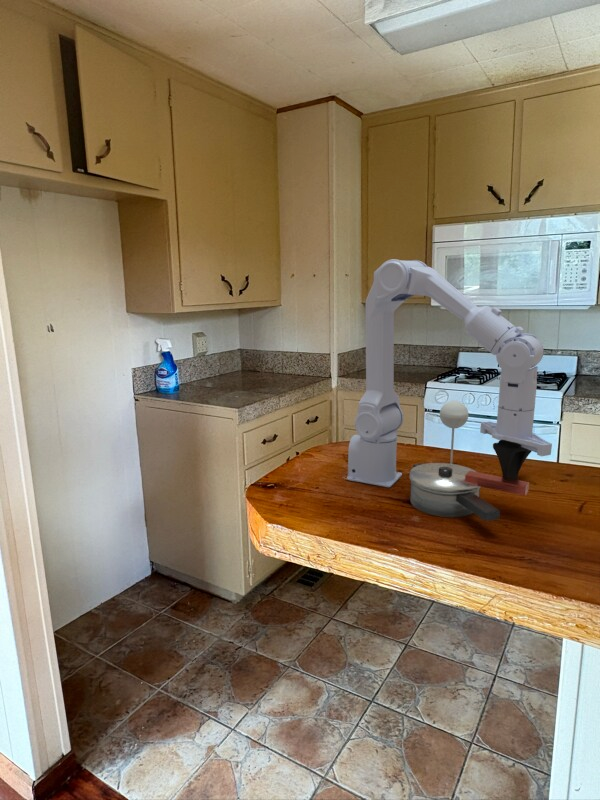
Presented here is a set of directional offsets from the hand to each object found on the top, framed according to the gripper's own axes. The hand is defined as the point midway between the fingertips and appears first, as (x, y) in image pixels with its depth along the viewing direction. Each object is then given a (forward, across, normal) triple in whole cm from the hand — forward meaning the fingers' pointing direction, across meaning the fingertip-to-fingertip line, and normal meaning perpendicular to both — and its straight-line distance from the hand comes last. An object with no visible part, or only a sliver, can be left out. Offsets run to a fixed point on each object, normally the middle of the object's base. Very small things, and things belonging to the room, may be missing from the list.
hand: (509, 482), depth 92 cm
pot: (+5, -5, -8) cm, 11 cm away
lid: (+1, -4, -6) cm, 7 cm away
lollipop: (+6, -22, +4) cm, 23 cm away
